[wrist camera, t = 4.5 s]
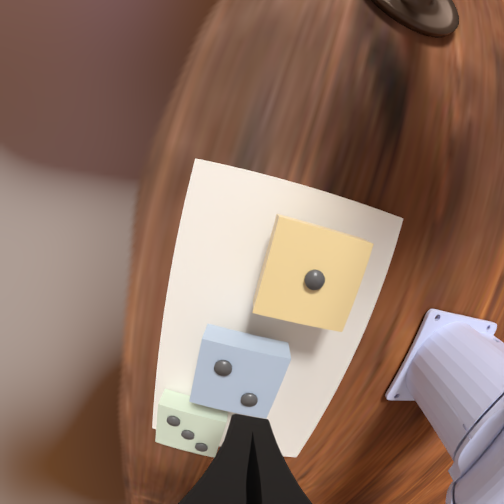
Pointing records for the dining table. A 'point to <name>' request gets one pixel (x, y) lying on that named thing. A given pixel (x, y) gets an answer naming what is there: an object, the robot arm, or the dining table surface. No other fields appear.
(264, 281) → the tile one
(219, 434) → the tile three
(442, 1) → the candlestick
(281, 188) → the panel
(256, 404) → the tile two
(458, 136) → the dining table surface
